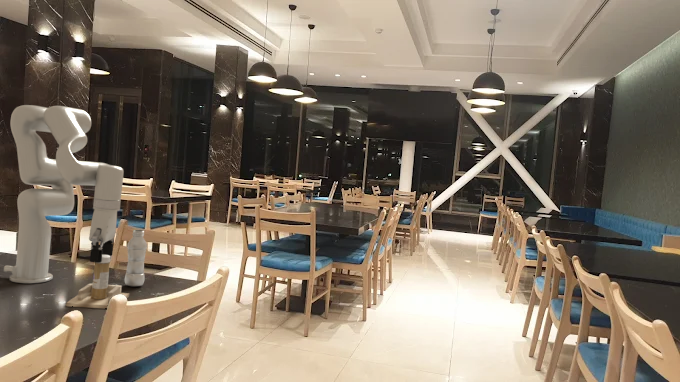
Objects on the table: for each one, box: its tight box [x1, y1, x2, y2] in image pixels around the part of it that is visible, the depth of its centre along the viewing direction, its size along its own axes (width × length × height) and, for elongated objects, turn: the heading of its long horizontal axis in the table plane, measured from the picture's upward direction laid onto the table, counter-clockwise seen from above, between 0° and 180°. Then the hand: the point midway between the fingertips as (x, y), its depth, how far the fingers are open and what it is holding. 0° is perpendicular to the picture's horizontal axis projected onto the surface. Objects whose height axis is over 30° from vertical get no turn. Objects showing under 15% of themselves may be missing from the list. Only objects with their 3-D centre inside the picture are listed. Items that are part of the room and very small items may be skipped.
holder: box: [65, 283, 130, 309], centre depth 150 cm, size 14×14×4 cm
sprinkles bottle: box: [91, 254, 112, 299], centre depth 150 cm, size 5×5×13 cm
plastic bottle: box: [124, 229, 148, 288], centre depth 170 cm, size 6×7×20 cm
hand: (101, 258), depth 150 cm, fingers open, 9 cm apart
